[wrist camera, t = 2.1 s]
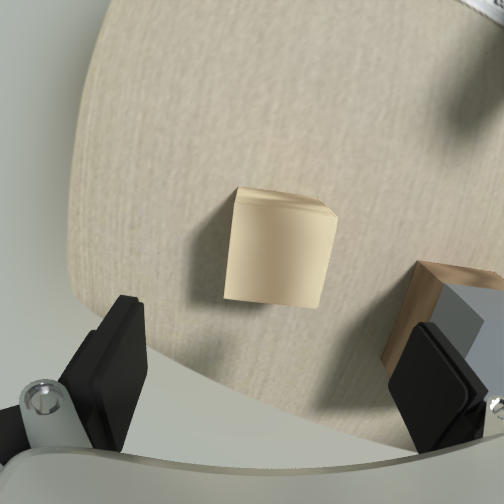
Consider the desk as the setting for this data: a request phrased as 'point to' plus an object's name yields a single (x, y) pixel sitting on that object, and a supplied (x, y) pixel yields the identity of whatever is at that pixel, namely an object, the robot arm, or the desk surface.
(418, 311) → the tower lower block
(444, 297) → the tower upper block
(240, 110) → the desk surface
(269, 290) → the maple block
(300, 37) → the desk surface
